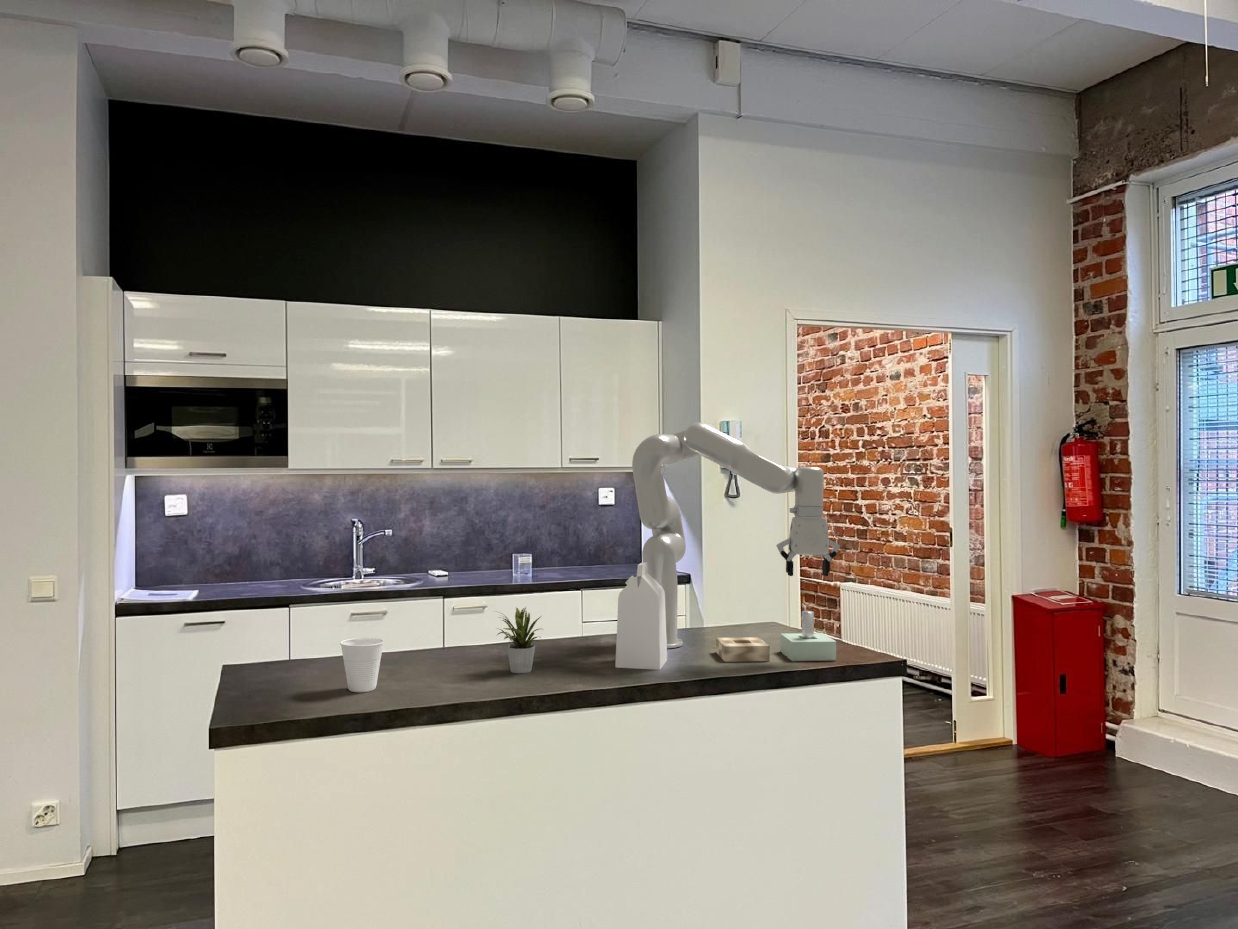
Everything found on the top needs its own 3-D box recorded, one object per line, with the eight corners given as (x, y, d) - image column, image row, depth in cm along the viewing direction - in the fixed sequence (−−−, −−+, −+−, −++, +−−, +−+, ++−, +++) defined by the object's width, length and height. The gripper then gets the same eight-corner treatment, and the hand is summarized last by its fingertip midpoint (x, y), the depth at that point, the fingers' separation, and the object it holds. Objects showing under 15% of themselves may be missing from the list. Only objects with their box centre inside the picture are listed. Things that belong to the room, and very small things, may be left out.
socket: (791, 660, 254) (791, 642, 254) (780, 651, 266) (780, 633, 266) (836, 660, 255) (836, 641, 255) (822, 651, 267) (822, 633, 267)
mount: (724, 661, 252) (724, 646, 252) (716, 652, 264) (716, 637, 264) (769, 661, 253) (769, 646, 253) (759, 651, 265) (759, 637, 265)
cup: (388, 684, 225) (388, 637, 225) (379, 695, 215) (379, 645, 215) (345, 684, 225) (345, 637, 224) (334, 695, 215) (334, 645, 215)
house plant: (483, 666, 245) (484, 602, 245) (536, 662, 250) (536, 599, 250) (497, 678, 232) (497, 610, 231) (552, 674, 237) (552, 607, 236)
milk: (660, 669, 242) (660, 566, 242) (615, 667, 245) (616, 565, 244) (667, 659, 254) (667, 561, 254) (624, 657, 256) (625, 560, 256)
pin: (803, 657, 259) (803, 612, 258) (800, 654, 262) (800, 610, 262) (815, 657, 259) (815, 612, 259) (811, 654, 262) (811, 610, 262)
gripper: (781, 513, 255) (779, 577, 256) (844, 513, 257) (843, 577, 257) (774, 511, 263) (773, 573, 263) (835, 511, 264) (834, 574, 265)
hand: (807, 575), depth 260 cm, fingers open, 9 cm apart
